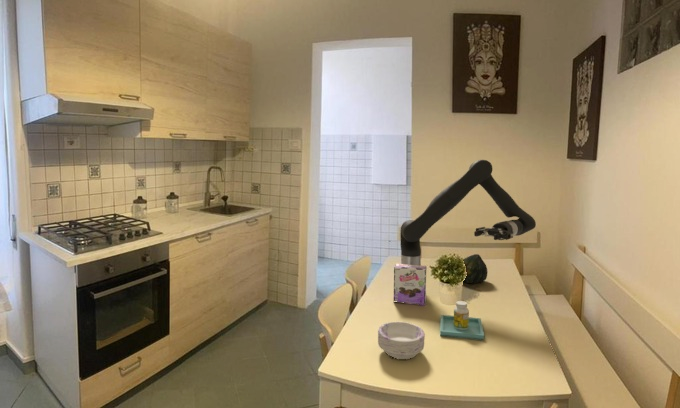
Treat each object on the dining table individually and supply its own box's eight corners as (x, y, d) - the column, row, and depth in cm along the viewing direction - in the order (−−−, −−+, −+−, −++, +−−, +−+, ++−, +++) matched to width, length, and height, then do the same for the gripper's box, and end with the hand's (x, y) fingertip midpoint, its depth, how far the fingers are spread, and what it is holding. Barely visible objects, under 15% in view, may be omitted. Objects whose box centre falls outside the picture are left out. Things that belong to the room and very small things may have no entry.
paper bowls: (432, 360, 131) (433, 337, 130) (388, 368, 126) (389, 344, 125) (411, 339, 145) (411, 318, 144) (371, 345, 141) (371, 323, 140)
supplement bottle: (471, 328, 152) (472, 304, 150) (460, 331, 149) (461, 306, 148) (461, 323, 157) (462, 299, 155) (450, 325, 154) (451, 301, 153)
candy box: (393, 302, 179) (393, 266, 177) (395, 298, 185) (395, 262, 183) (425, 305, 176) (425, 268, 173) (426, 300, 181) (426, 265, 179)
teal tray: (440, 335, 148) (440, 331, 147) (440, 319, 162) (440, 314, 162) (483, 340, 144) (484, 335, 144) (480, 322, 158) (480, 318, 158)
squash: (446, 269, 208) (465, 251, 200) (462, 265, 218) (480, 247, 210) (464, 293, 201) (484, 275, 193) (479, 287, 211) (499, 270, 203)
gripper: (489, 219, 180) (469, 224, 170) (521, 223, 169) (502, 229, 159) (489, 236, 181) (468, 241, 171) (520, 241, 170) (501, 247, 160)
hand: (484, 235), depth 165 cm, fingers open, 8 cm apart
